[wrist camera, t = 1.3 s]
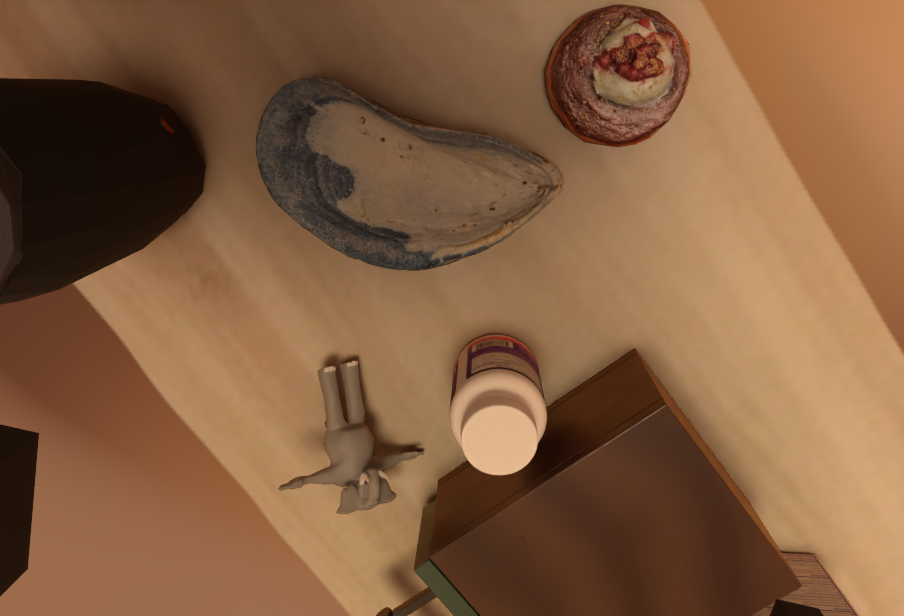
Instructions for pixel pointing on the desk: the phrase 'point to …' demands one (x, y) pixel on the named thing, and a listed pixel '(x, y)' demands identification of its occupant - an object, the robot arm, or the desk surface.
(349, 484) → the elephant figurine
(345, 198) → the seashell
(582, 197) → the desk surface
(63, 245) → the portable speaker
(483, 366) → the pill bottle
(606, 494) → the cabinet
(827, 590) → the medicine box
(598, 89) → the pastry
